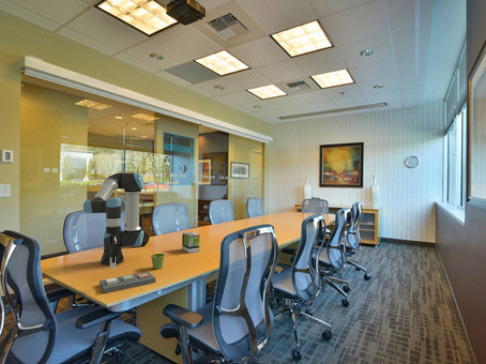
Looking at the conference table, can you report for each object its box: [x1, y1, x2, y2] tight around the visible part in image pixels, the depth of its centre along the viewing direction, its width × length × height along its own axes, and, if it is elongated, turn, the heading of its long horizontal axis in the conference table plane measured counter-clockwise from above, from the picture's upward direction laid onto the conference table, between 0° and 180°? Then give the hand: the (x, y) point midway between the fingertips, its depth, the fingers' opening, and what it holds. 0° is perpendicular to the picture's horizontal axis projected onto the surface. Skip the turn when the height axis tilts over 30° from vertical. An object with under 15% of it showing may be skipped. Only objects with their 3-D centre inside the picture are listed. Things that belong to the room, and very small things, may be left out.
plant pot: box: [150, 253, 166, 270], centre depth 183 cm, size 9×9×9 cm
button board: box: [99, 271, 157, 294], centre depth 154 cm, size 14×27×2 cm, turn 127°
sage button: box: [122, 274, 134, 282], centre depth 154 cm, size 5×5×2 cm
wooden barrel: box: [139, 214, 150, 247], centre depth 245 cm, size 18×18×28 cm
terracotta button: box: [138, 273, 149, 279], centre depth 159 cm, size 5×5×2 cm
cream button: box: [106, 277, 118, 285], centre depth 149 cm, size 5×5×2 cm
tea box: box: [181, 231, 201, 254], centre depth 230 cm, size 15×10×15 cm
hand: (112, 268), depth 149 cm, fingers closed
